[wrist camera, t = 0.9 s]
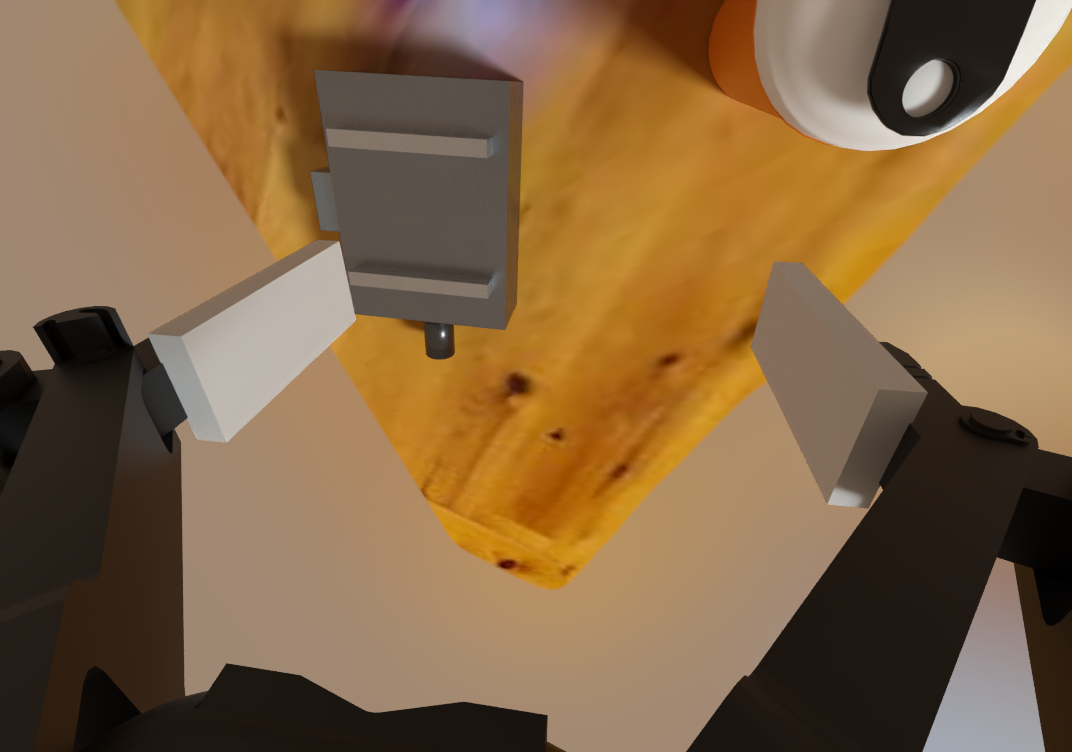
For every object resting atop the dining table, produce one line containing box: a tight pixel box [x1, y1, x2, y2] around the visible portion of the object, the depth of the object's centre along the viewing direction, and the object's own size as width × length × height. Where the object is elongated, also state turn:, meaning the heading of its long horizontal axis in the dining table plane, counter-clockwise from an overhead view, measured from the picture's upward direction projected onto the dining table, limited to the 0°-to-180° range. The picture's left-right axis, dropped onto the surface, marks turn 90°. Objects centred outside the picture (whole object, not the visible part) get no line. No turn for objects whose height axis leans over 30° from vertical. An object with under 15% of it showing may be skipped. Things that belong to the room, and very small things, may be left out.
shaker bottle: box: [708, 0, 1072, 151], centre depth 21 cm, size 9×9×20 cm
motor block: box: [310, 70, 523, 359], centre depth 36 cm, size 20×14×6 cm
